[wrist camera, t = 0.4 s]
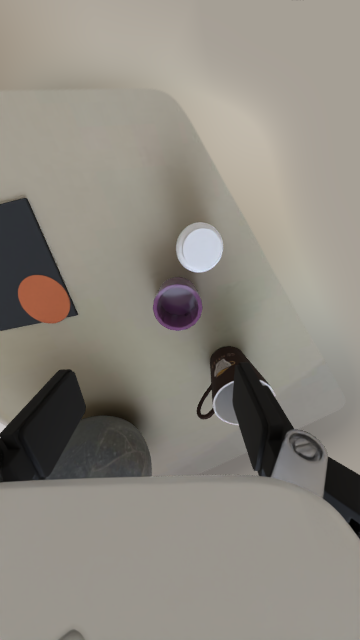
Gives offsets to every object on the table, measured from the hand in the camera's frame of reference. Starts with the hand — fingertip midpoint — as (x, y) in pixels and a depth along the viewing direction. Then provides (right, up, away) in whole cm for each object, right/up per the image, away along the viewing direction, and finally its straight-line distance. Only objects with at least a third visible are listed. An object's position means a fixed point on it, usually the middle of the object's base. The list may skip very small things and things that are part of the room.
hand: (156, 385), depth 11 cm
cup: (+1, +8, +20) cm, 21 cm away
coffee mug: (+9, -4, +25) cm, 27 cm away
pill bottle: (+4, +15, +17) cm, 23 cm away
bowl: (-14, -21, +32) cm, 40 cm away
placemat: (-24, +11, +18) cm, 32 cm away
